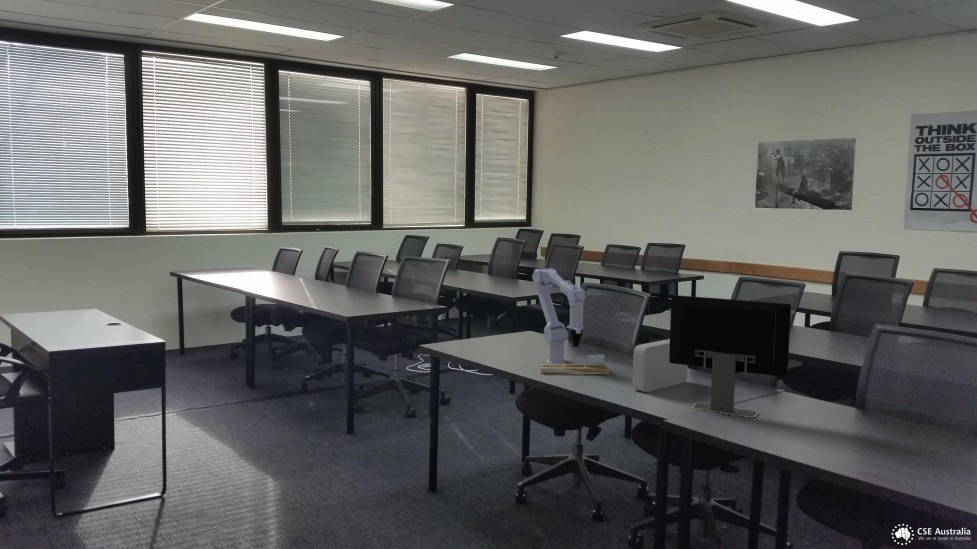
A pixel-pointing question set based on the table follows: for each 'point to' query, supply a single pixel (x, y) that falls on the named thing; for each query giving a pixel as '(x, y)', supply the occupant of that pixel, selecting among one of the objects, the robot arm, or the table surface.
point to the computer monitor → (729, 342)
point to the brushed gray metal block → (595, 360)
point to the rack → (572, 369)
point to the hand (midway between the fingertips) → (575, 346)
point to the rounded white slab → (656, 367)
